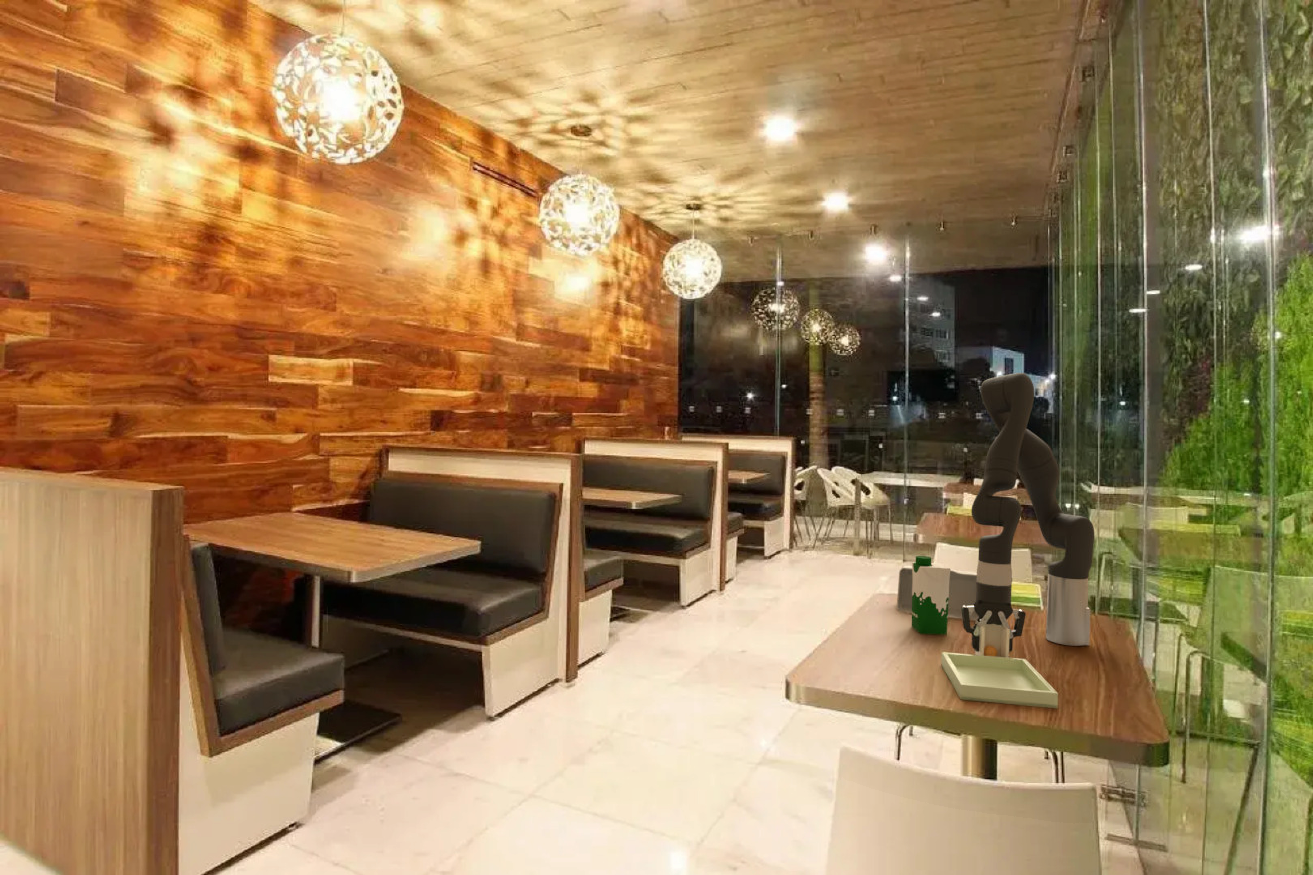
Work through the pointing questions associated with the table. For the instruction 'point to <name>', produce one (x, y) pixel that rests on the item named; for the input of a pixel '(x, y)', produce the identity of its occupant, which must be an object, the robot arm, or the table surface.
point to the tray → (998, 680)
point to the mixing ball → (990, 651)
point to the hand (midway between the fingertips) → (991, 651)
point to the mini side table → (994, 639)
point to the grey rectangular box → (959, 591)
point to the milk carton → (930, 596)
